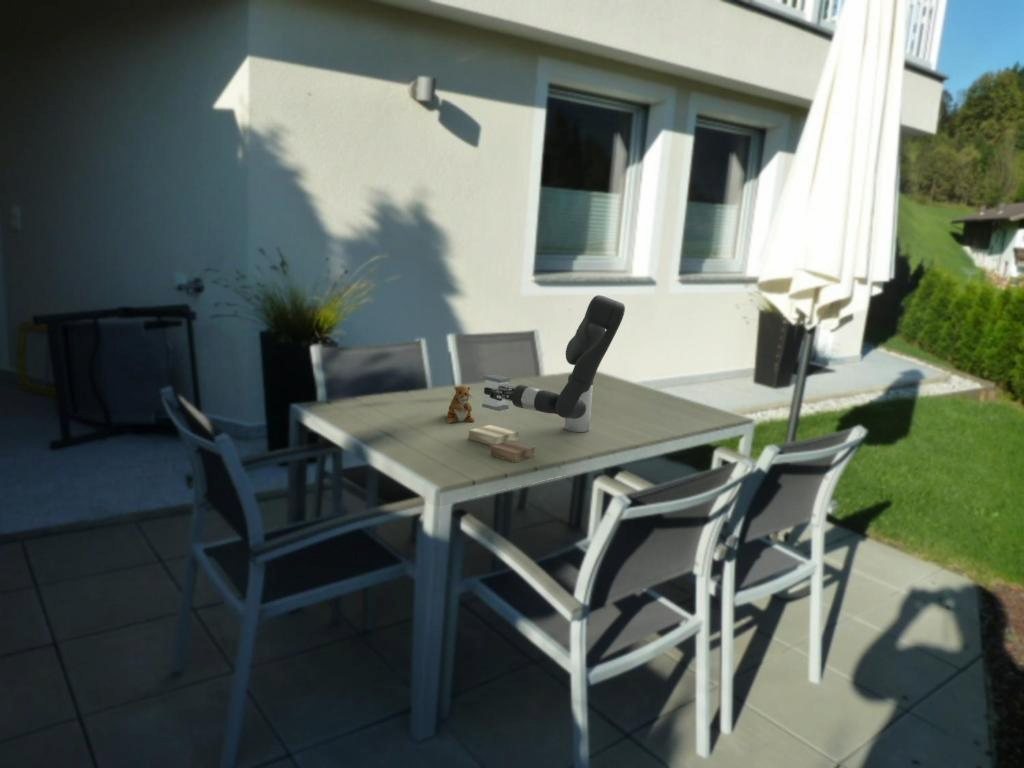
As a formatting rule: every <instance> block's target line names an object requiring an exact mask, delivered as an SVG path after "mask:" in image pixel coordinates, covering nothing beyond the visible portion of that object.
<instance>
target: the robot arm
mask: <svg viewBox="0 0 1024 768" xmlns="http://www.w3.org/2000/svg"><path fill="white" fill-rule="evenodd" d="M586 308H587V309H586V311H585V313H584V317H583V319H582V321H581V322H580V324H579V325H578V327H577V329H576V332H575V334H574V335H573V337H572V338H571V339H570V340H569V341H568V343H567V346H566V347H565V348H566V349H565V359H566V362H567V363H568V364H569V365H571V366H574V367H573V369H572V372H571V373H570V374H569V375H568V379H567V383H566V384H565V385H564V387H563V389H562V390H561V392H560V393H555V392H553V391H549V390H544V389H541V388H537V387H533V386H528V385H523V384H518V385H517V386H512V385H510V386H509V385H508V387H507V389H502V388H500V389H498V390H497V389H491V388H487V387H486V388H485V387H483V395H484V394H487V395H490V398H493V399H496V400H499V401H502V399H503V400H506V401H507V402H511V403H512V404H513V406H514V407H516V408H519V409H524V410H529V411H532V412H541V413H544V414H554V415H558V416H559V417H561V418H563V419H564V430H566V431H569V432H573V433H586V432H589V431H590V426H591V425H590V424H591V412H592V401H593V389H594V378H595V376H596V374H597V371H598V369H599V367H600V365H601V363H602V360H603V359H604V358H605V355H606V353H607V352H608V349H609V348H610V347H611V343H612V342H613V339H614V338H615V336H616V333H617V332H618V330H619V328H620V325H621V323H622V322H623V318H624V315H625V312H626V311H625V310H626V306H625V304H624V303H623V302H621V301H619V300H615V299H613V298H610V297H607V296H604V295H600V294H597V295H595V296H593V298H592V299H591V300H590V302H589V304H588V306H587V307H586ZM501 391H503V392H502V393H501Z"/></svg>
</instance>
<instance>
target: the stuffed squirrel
mask: <svg viewBox="0 0 1024 768" xmlns="http://www.w3.org/2000/svg"><path fill="white" fill-rule="evenodd" d="M471 388H472V387H471V386H466V385H459V386H456V385H454V386H453V389H454V392H455V393H454V395H452V396H453V398H451V402H450V404H449V406H448V411H447V414H446V418H447V422H448V423H449V424H454V423H456V422H467V421H468V422H469V423H474V422H475V418H474V417H473V416H472V413H471V412H472V409H473V408H472V405H471V404H470V403H469V399H473V397H472V395H471V394H470V393H469V391H470V390H471ZM453 422H454V423H453Z"/></svg>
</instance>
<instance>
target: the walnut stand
mask: <svg viewBox="0 0 1024 768" xmlns="http://www.w3.org/2000/svg"><path fill="white" fill-rule="evenodd" d="M535 448H536V447H535V446H532V445H529V444H525V443H521V442H518V441H512V440H510V441H506V442H503V443H499V444H496V445H493V446H492V445H490V456H492V455H493V457H496V458H499V459H502V458H503V459H502V460H505V459H506V461H508V460H510V461H509V462H512V461H513V462H512V463H517V462H521V461H523V460H526V459H529V458H533V457H534V456H535Z"/></svg>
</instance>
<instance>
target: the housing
mask: <svg viewBox="0 0 1024 768" xmlns="http://www.w3.org/2000/svg"><path fill="white" fill-rule="evenodd" d="M482 380H484V388H486V387H487V388H491V389H497V390H498V389H500V388H502V389H507V387H509V382H511V377H508V376H504V375H498V374H493V373H492V374H488V375H487V374H486V375H483V378H482ZM502 392H503V391H501V393H502ZM483 395H484V396H483V398H484V399H483V402H482V403H481V407H482V408H485V409H489V410H494V411H497V412H501V411H506V410H509V409H510V407H509V405H508V401H506V400H503V399H502V401H499V400H496V399H493V398H490V395H487V394H484V393H483Z"/></svg>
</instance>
